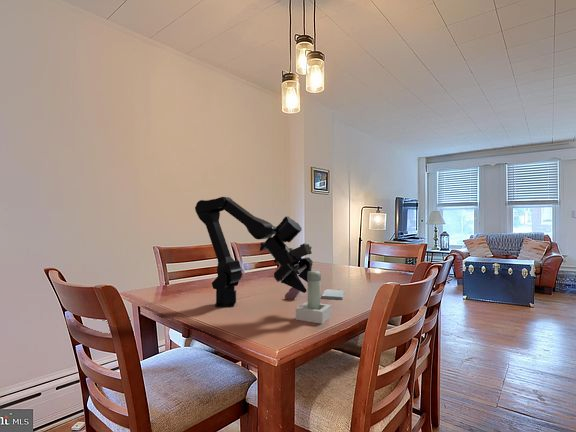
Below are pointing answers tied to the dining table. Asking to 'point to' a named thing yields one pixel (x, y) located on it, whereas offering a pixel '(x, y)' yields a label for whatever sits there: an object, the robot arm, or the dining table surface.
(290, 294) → the video game controller
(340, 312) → the dining table surface
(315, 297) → the toggle switch lever
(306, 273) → the robot arm
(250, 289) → the dining table surface
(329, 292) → the hard drive
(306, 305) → the housing
